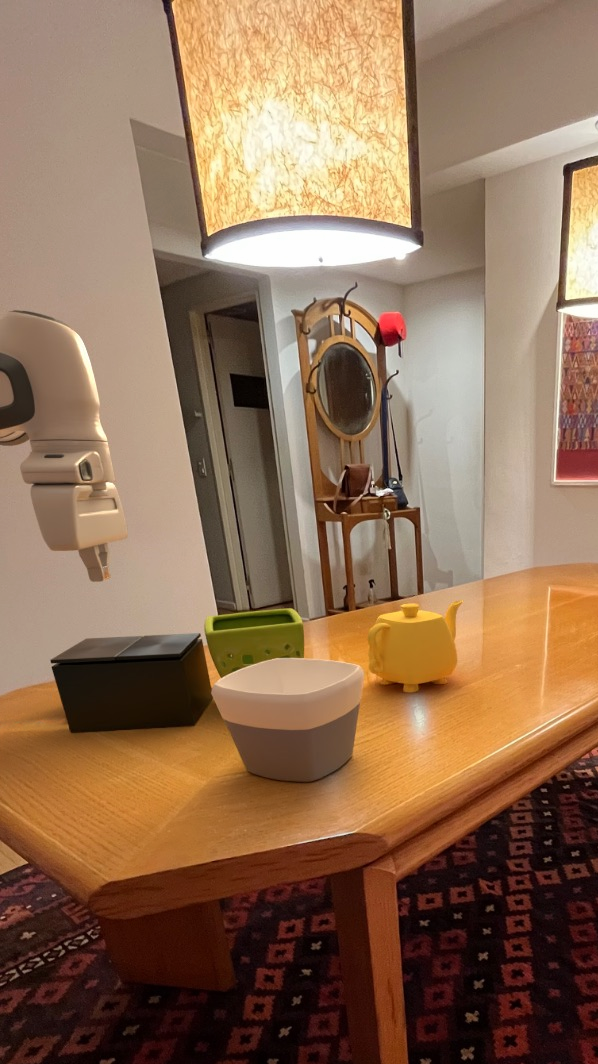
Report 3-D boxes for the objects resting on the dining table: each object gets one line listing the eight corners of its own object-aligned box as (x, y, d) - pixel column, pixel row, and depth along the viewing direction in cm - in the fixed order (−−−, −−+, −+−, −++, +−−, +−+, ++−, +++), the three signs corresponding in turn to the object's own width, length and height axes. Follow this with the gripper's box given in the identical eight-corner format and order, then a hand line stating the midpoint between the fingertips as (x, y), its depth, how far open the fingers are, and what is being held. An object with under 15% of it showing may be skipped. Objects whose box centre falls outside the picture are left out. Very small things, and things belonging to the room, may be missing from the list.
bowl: (285, 734, 92) (274, 653, 87) (385, 748, 86) (379, 663, 81) (209, 778, 79) (190, 686, 74) (320, 798, 74) (308, 700, 69)
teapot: (348, 684, 112) (340, 606, 107) (439, 662, 124) (436, 590, 119) (397, 702, 103) (392, 618, 97) (491, 676, 115) (491, 599, 109)
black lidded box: (70, 733, 95) (49, 660, 90) (103, 704, 106) (85, 638, 102) (194, 725, 96) (179, 653, 91) (213, 698, 108) (200, 632, 103)
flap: (50, 663, 90) (49, 659, 90) (86, 641, 102) (85, 638, 102) (115, 660, 91) (114, 656, 91) (143, 639, 102) (143, 635, 102)
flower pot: (304, 683, 114) (294, 606, 108) (315, 707, 102) (305, 622, 96) (218, 692, 110) (203, 613, 105) (219, 719, 98) (202, 631, 93)
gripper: (80, 469, 95) (103, 571, 101) (12, 466, 77) (44, 592, 83) (127, 468, 96) (147, 570, 102) (69, 466, 77) (98, 590, 83)
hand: (100, 580), depth 92 cm, fingers closed
